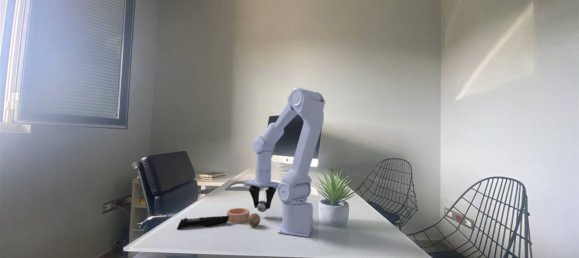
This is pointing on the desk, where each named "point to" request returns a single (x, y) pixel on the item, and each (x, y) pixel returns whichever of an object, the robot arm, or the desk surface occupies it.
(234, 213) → the terracotta bowl
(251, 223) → the wooden ball
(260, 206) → the steel ball
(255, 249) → the desk surface
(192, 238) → the desk surface
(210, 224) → the electric trimmer
